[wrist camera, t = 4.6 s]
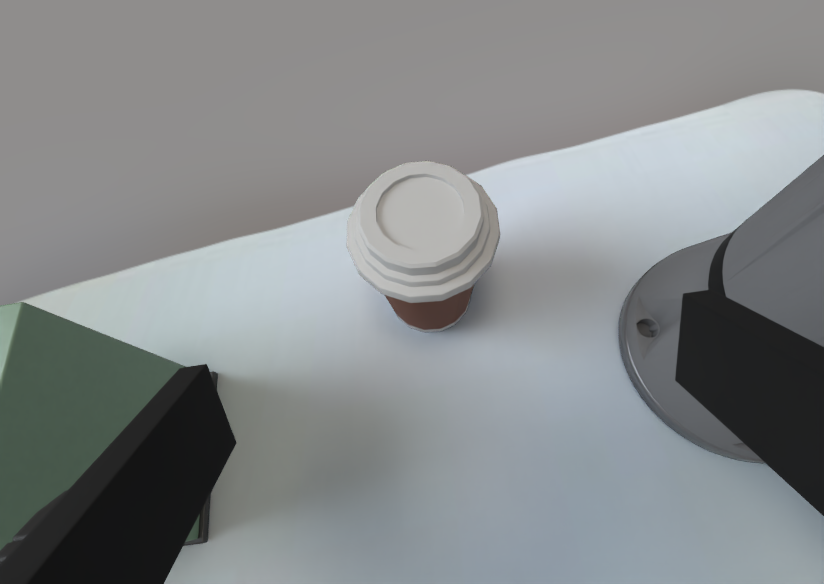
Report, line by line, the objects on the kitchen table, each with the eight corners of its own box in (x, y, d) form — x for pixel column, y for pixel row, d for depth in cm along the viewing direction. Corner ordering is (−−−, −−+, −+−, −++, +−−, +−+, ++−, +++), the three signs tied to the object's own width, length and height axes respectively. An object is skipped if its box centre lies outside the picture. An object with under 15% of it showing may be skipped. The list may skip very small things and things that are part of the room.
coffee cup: (492, 250, 35) (509, 149, 24) (481, 356, 32) (497, 295, 21) (385, 240, 36) (356, 140, 26) (364, 341, 33) (320, 275, 22)
